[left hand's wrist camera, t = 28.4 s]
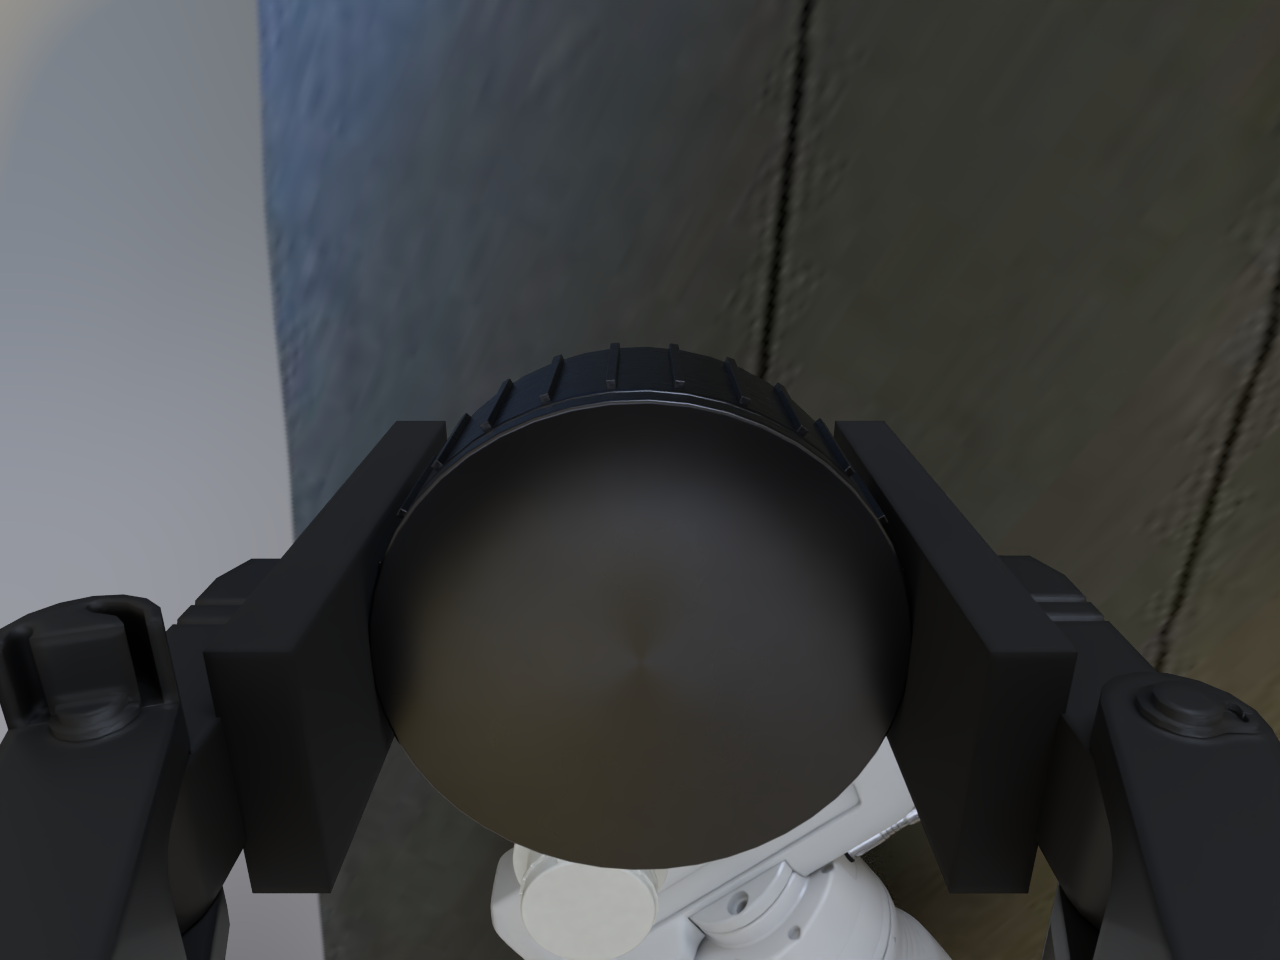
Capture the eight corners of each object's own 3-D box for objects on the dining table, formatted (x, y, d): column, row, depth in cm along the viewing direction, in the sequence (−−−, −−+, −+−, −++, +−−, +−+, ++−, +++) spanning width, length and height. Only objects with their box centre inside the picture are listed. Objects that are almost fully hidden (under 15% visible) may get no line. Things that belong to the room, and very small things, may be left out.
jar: (671, 671, 45) (691, 954, 29) (569, 698, 45) (536, 989, 30) (640, 580, 43) (644, 830, 27) (534, 609, 43) (479, 870, 28)
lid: (368, 365, 11) (300, 422, 9) (867, 315, 11) (925, 362, 9) (455, 766, 13) (418, 894, 11) (870, 732, 13) (918, 855, 11)
